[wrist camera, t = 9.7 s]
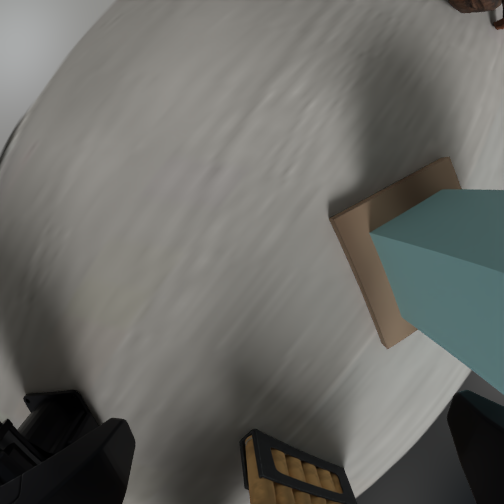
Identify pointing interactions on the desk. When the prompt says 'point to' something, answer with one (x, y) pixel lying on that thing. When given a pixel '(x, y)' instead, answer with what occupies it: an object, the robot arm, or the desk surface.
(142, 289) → the desk surface
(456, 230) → the teal square planter
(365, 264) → the peg plate
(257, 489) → the ammunition clip
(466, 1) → the brown ridged hollow part
